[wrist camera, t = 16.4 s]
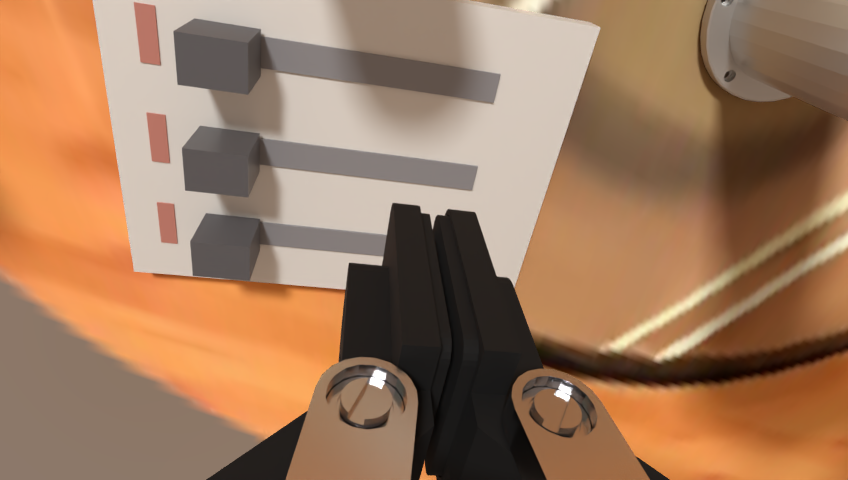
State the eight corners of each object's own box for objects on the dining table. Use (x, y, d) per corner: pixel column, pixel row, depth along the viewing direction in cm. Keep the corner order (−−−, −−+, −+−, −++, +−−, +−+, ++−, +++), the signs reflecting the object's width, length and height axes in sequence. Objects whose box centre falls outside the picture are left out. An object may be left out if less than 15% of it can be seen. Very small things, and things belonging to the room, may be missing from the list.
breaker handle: (259, 133, 36) (247, 156, 33) (259, 172, 38) (248, 197, 34) (199, 125, 36) (181, 148, 32) (202, 165, 37) (185, 190, 34)
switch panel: (590, 22, 36) (627, 41, 31) (504, 290, 49) (520, 337, 43) (98, -67, 31) (40, -62, 26) (143, 257, 44) (110, 306, 38)
